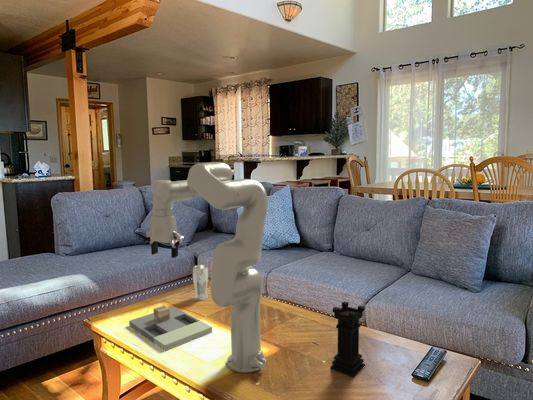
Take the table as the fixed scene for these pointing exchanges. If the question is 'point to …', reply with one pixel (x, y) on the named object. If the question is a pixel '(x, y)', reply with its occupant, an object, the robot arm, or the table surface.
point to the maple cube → (161, 313)
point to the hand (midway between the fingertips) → (164, 255)
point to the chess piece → (348, 340)
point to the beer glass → (200, 281)
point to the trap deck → (170, 328)
